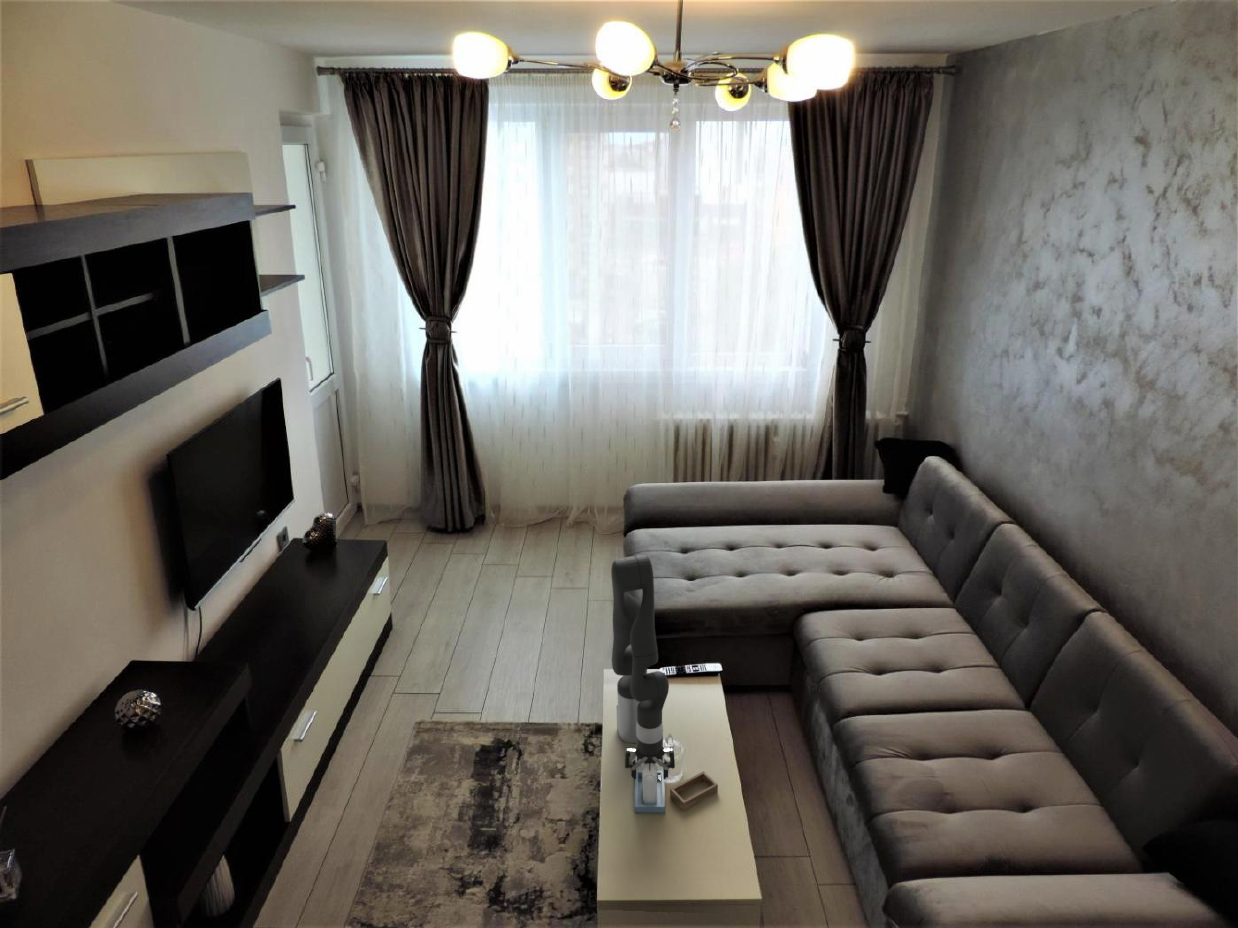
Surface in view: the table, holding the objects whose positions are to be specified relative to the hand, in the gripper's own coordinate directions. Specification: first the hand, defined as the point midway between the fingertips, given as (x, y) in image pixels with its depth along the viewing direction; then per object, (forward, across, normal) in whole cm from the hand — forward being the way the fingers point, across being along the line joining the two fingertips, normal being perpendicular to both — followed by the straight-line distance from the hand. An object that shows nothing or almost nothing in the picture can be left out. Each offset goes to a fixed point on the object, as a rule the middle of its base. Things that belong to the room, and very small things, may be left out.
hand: (649, 777), depth 251 cm
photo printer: (+6, 0, 0) cm, 6 cm away
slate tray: (+6, 0, 0) cm, 7 cm away
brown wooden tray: (+6, +13, 0) cm, 14 cm away
